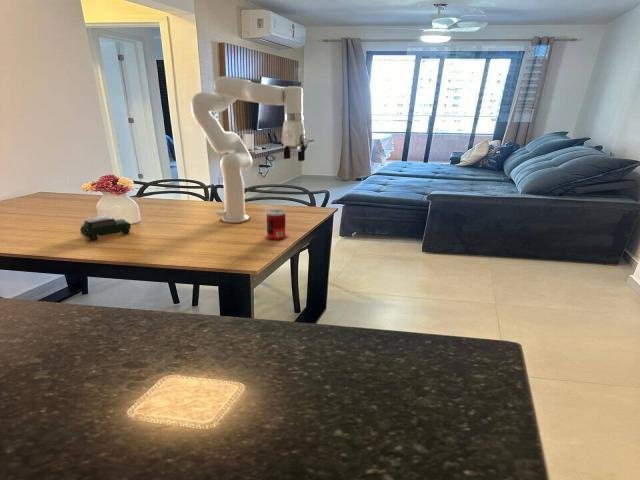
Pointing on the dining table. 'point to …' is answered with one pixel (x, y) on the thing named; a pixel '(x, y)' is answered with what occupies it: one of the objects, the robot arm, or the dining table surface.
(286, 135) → the robot arm
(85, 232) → the miniature car
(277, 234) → the canned food
